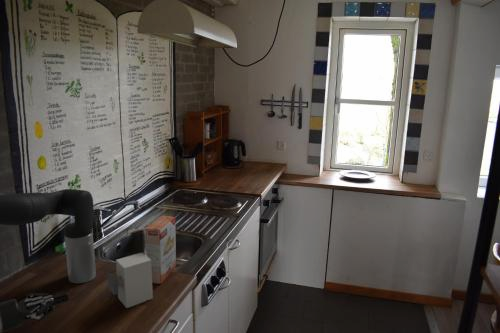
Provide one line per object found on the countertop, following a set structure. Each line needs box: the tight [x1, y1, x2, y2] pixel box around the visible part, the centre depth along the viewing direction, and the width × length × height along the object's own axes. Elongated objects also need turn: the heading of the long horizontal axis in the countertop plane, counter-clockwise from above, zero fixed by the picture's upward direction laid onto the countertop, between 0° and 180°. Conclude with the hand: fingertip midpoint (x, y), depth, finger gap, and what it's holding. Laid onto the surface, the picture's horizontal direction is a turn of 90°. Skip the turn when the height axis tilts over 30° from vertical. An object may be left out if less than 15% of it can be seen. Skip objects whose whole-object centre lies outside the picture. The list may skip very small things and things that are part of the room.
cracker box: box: [145, 215, 177, 285], centre depth 141 cm, size 14×6×21 cm, turn 168°
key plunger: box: [106, 272, 123, 296], centre depth 123 cm, size 5×8×5 cm, turn 130°
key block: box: [115, 252, 154, 309], centre depth 126 cm, size 7×9×14 cm
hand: (67, 296), depth 113 cm, fingers closed
